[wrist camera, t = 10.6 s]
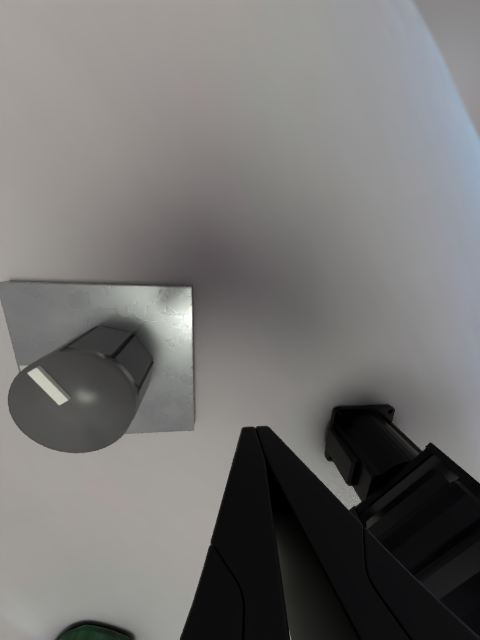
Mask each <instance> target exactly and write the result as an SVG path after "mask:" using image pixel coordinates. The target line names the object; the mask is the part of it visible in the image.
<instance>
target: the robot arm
mask: <svg viewBox="0 0 480 640" xmlns="http://www.w3.org/2000/svg"><path fill="white" fill-rule="evenodd" d="M338 412H339V413H338ZM394 412H395V409H394V408H393V407H392V406H390V405H377V406H352V407H337V408H335V409H334V410H333V414H332V420H331V425H330V429H329V433H328V438H327V443H326V452H325V457H326V459H327V460H328V461H333V462H334V463H335V465H336V467H337V469H338V470H339V472H340V474H341V475H342V477H343V479H344V481H345V482H346V484H347V485H348V486H353V488H354V490H355V491H356V493H357V495H358V496H359V498H360V500H361V501H362V502H361V503H359V504H358V505H357V506H353V507H352V508H351V509H350V511H349V510H348V509H347V508H346V507H345V506H344V505H343V504H342V503H341V502H340V500H339V499H338V498H337V497H336V496H335V495H334V494H333V493H332V492H331V491H330V490H329V489H328V488H327V487H326V486H325V485H324V484H323V483H322V482H321V481H320V480H319V479H318V477H317V476H316V475H315V474H314V473H313V472H312V471H311V470H310V469H309V468H308V467H307V466H306V465H305V464H304V463H303V462H302V461H301V460H300V459H299V458H298V457H297V456H296V455H295V453H294V452H293V451H292V450H291V449H290V448H289V447H288V446H287V445H286V444H285V443H284V442H283V441H282V440H281V439H280V438H279V437H278V436H277V435H276V434H275V433H274V432H273V431H272V429H271V428H270V427H268V426H257V427H256V428H255V427H243V428H242V429H241V433H240V437H239V440H238V444H237V448H236V451H235V455H234V458H233V462H232V466H231V469H230V473H229V477H228V480H227V484H226V488H225V491H224V495H223V499H222V502H221V506H220V509H219V513H218V517H217V520H216V524H215V528H214V531H213V535H212V539H211V545H210V546H209V549H208V552H207V556H206V560H205V563H204V567H203V570H202V574H201V577H200V580H199V583H198V587H197V590H196V593H195V597H194V600H193V603H192V606H191V609H190V612H189V615H188V617H187V620H186V623H185V626H184V629H183V632H182V634H181V637H180V640H290V636H291V640H480V483H479V482H477V481H476V480H475V479H474V478H473V477H471V476H470V475H469V474H468V473H467V472H465V471H464V470H463V469H462V468H461V467H460V466H458V465H457V464H456V463H455V462H454V461H452V460H451V459H450V458H449V457H448V456H446V455H445V454H444V453H443V452H442V451H441V450H439V449H438V448H437V447H436V446H435V445H433V444H432V443H429V444H428V445H427V446H426V449H425V450H423V451H422V450H420V449H419V448H418V447H417V446H416V445H415V444H414V443H413V442H412V441H411V440H410V439H409V438H408V437H407V436H406V435H405V434H404V433H403V432H401V431H400V430H399V429H398V428H397V427H396V426H395V425H394V424H393V423H392V419H393V416H394ZM288 627H289V628H288ZM289 632H290V635H289Z"/></svg>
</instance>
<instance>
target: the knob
mask: <svg viewBox="0 0 480 640" xmlns="http://www.w3.org/2000/svg"><path fill="white" fill-rule="evenodd" d="M131 336H132V333H130V332H126V331H121V330H117V329H112V328H108V327H103V326H99V327H97V328H96V326H95V327H93V328H91V329H90V330H88V331H86V332H84V333H82V334H81V335H79V336H77V337H75V338H73V339H72V340H70V341H68V342H67V343H65V344H63V345H62V346H60V347H59V348H57V349H55V350H54V351H52V352H51V353H49V354H47V355H45V356H43V357H41V358H40V359H38V360H36V361H35V362H33V363H32V364H30V365H29V366H27V367H25V368H24V369H23V370H22V371H21V372H20V373H19V374H18V375H17V376H16V377H15V379H14V380H13V382H12V384H11V387H10V389H9V394H8V406H9V411H10V413H11V416H12V418H13V420H14V422H15V423H16V425H17V426H18V427H19V429H20V430H21V431H22V432H23V433H24V434H25V435H27V436H28V437H29V438H30V439H32V440H33V441H35V442H37V443H38V444H40V445H43V446H45V447H47V448H50V449H53V450H57V451H61V452H68V453H85V452H92V451H96V450H99V449H102V448H105V447H107V446H109V445H111V444H113V443H114V442H116V441H117V440H118V439H119V438H121V437H122V436H123V435H124V433H125V432H126V431H127V429H128V428H129V426H130V424H131V422H132V420H133V419H134V417H135V415H136V413H137V411H138V408H139V406H140V404H141V402H142V400H143V397H144V395H145V393H146V391H147V389H148V386H149V382H150V377H151V373H152V369H153V364H154V362H152V360H153V358H152V356H151V355H150V354H149V352H148V351H147V350H146V348H145V347H144V346H143V344H142V343H141V342H140V340H139V339H138V338H137V336H134V337H132V338H131Z"/></svg>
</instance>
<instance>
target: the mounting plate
mask: <svg viewBox="0 0 480 640" xmlns="http://www.w3.org/2000/svg"><path fill="white" fill-rule="evenodd" d="M0 299H1V303H2V306H3V310H4V314H5V318H6V322H7V326H8V330H9V334H10V338H11V342H12V346H13V349H14V353H15V357H16V361H17V365H18V369H19V373H20V372H21V371H22V370H23V369H24V368H25V367H27V366H29V365H30V364H32V363H33V362H35V361H36V360H38V359H40V358H41V357H43V356H45V355H47V354H49V353H51V352H52V351H54V350H55V349H57V348H59V347H60V346H62V345H63V344H65V343H67V342H68V341H70V340H72V339H73V338H75V337H77V336H79V335H81V334H82V333H84V332H86V331H88V330H90V329H91V328H93V327H95V326H96V328H97V327H99V326H103V327H108V328H112V329H117V330H121V331H126V332H130V333H132V336H131V338H132V337H134V336H137V338H138V339H139V340H140V342H141V343H142V344H143V346H144V347H145V348H146V350H147V351H148V352H149V354H150V355H151V356H152V358H153V360H152V362H154V364H153V369H152V373H151V377H150V382H149V386H148V389H147V391H146V393H145V395H144V397H143V400H142V402H141V404H140V406H139V408H138V411H137V413H136V415H135V417H134V419H133V420H132V422H131V424H130V426H129V428H128V429H127V431H126V432H125V433H124V434H131V433H152V432H172V431H192V430H194V423H195V417H194V353H193V290H192V286H184V285H147V284H110V283H73V282H36V281H4V282H0Z"/></svg>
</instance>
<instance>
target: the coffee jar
mask: <svg viewBox="0 0 480 640" xmlns="http://www.w3.org/2000/svg"><path fill="white" fill-rule="evenodd" d="M58 640H131V639H130V638H129V637H128V636H125V635H123V634H120V633H118V632H115V631H113V630H109V629H106V628H102V627H98V626H93V625H83V626H80V627H78V628H75V629H72V630H69V631H67V632H66V633H64V634H63V635H62V636H61V637H60V638H59V639H58Z"/></svg>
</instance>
